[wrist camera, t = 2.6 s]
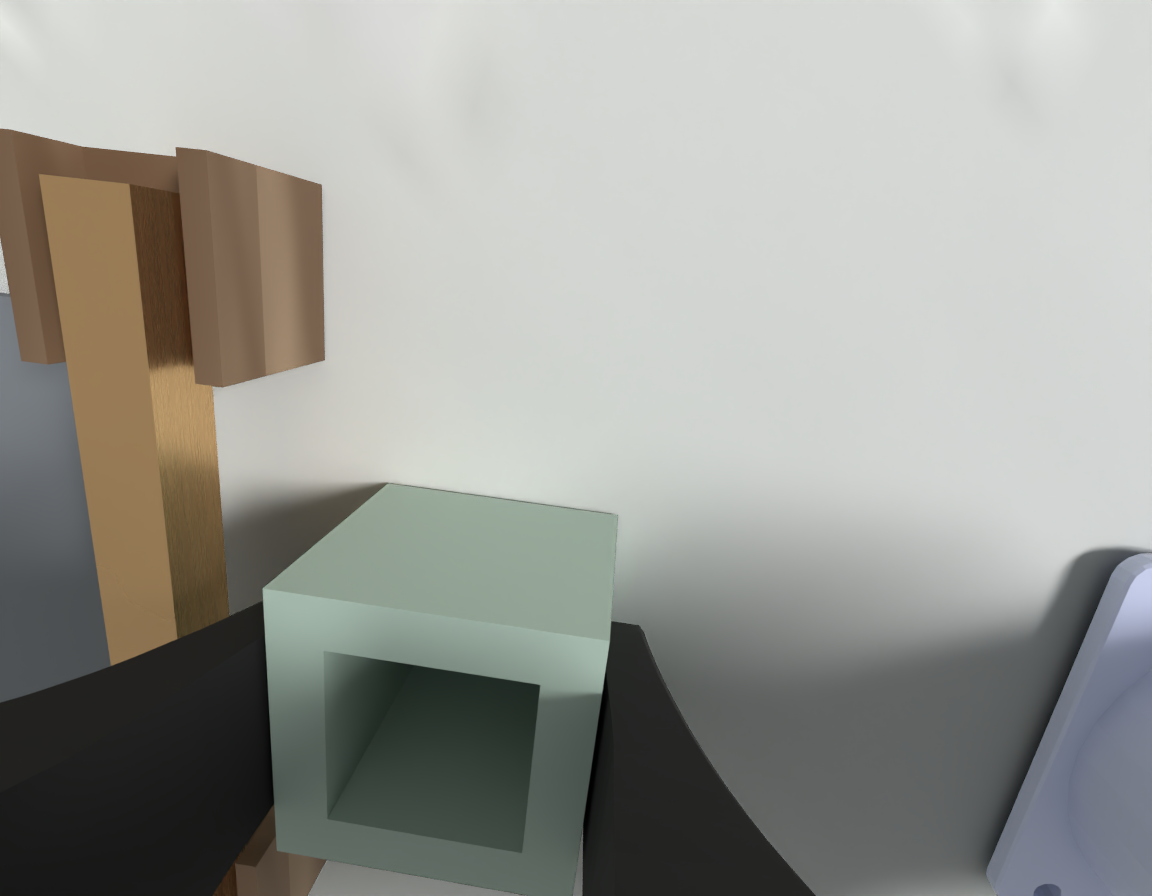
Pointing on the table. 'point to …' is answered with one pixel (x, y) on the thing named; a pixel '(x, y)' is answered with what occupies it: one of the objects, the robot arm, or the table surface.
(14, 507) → the slate mat
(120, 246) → the copper bar
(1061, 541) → the table surface
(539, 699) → the hollow green cube
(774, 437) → the table surface
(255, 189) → the bar stand
